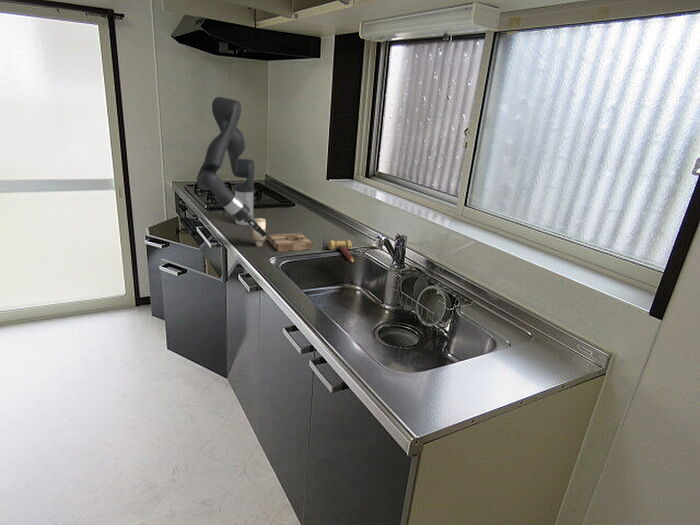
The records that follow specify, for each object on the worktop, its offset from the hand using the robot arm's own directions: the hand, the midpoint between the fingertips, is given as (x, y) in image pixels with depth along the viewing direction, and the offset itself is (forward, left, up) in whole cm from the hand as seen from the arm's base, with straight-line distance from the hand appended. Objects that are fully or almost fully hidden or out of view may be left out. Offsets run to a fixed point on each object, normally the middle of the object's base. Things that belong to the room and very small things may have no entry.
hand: (263, 233), depth 202 cm
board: (+2, +12, -6) cm, 14 cm away
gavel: (+20, +32, -6) cm, 39 cm away
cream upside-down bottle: (0, -2, -6) cm, 6 cm away
